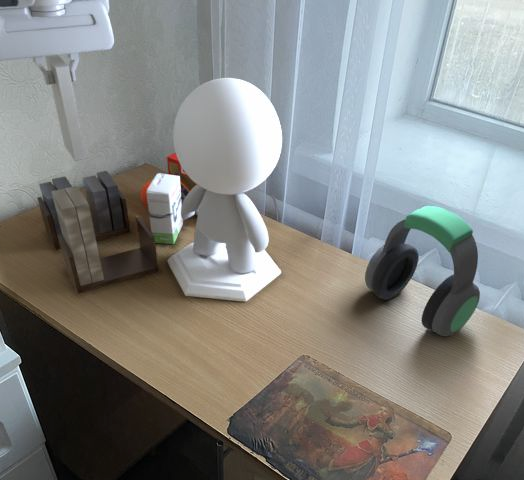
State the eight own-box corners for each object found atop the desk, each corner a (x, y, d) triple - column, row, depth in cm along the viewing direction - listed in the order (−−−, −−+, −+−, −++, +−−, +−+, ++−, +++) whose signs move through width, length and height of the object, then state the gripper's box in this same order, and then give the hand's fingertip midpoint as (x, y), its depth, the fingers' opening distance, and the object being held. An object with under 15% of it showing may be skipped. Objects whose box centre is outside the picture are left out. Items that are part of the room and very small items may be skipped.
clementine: (141, 201, 126) (137, 172, 121) (170, 198, 127) (168, 170, 122) (144, 218, 120) (140, 189, 115) (175, 215, 122) (172, 186, 117)
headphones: (355, 296, 103) (375, 201, 89) (392, 276, 108) (416, 183, 94) (436, 350, 93) (472, 253, 79) (472, 325, 98) (512, 229, 84)
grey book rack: (55, 250, 110) (42, 199, 102) (46, 231, 115) (32, 181, 107) (130, 232, 116) (123, 182, 108) (118, 215, 121) (110, 166, 113)
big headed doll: (296, 261, 110) (315, 80, 86) (226, 317, 97) (225, 121, 72) (221, 228, 118) (219, 54, 94) (147, 275, 105) (122, 86, 80)
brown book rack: (77, 293, 100) (57, 211, 88) (66, 270, 105) (45, 190, 93) (158, 271, 106) (149, 191, 94) (144, 250, 111) (133, 173, 99)
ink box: (174, 245, 113) (169, 193, 105) (151, 242, 113) (145, 191, 105) (183, 224, 119) (180, 174, 111) (162, 222, 119) (157, 172, 111)
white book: (74, 161, 99) (55, 67, 88) (64, 146, 104) (44, 55, 93) (86, 158, 100) (68, 66, 89) (76, 144, 105) (57, 54, 93)
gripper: (100, -20, 90) (112, 69, 99) (-32, -13, 82) (-4, 83, 91) (112, -13, 86) (124, 80, 95) (-25, -4, 78) (3, 95, 87)
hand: (60, 82), depth 93 cm, fingers closed on white book, 2 cm apart
